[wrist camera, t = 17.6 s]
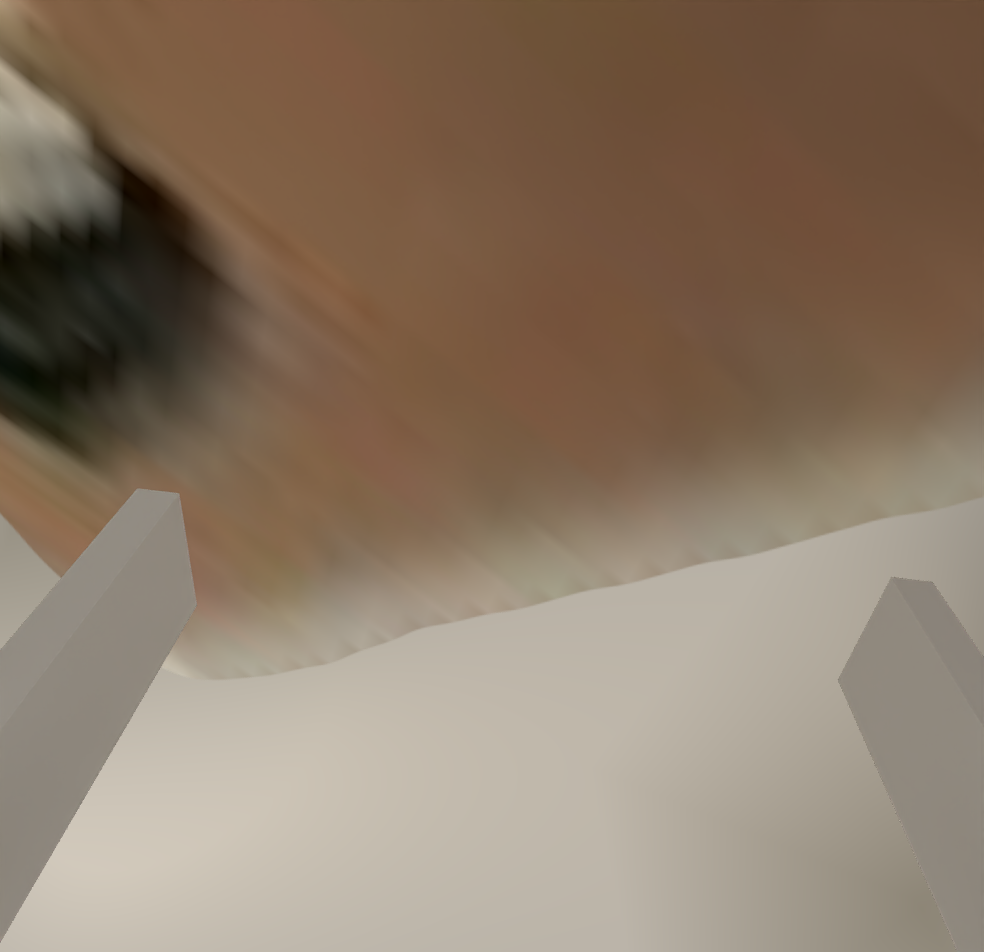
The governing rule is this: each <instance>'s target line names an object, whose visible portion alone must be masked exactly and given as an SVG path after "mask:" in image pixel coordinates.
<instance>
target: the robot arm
mask: <svg viewBox="0 0 984 952" xmlns="http://www.w3.org/2000/svg"><path fill="white" fill-rule="evenodd" d="M196 606H197V603H196V597H195V590H194V584H193V578H192V571H191V565H190V559H189V552H188V546H187V540H186V533H185V527H184V521H183V514H182V508H181V502H180V496H179V493H171V492H163V491H154V490H146V489H137V490H136V491H135V492H134V493H133V494H132V495H131V497H130V498H129V499H128V500H127V501H126V503H125V504H124V505H123V506H122V507H121V508H120V510H119V511H118V512H117V513H116V514H115V515H114V517H113V518H112V519H111V520H110V521H109V523H108V524H107V525H106V526H105V527H104V528H103V530H102V531H101V532H100V533H99V534H98V536H97V537H96V538H95V539H94V540H93V541H92V543H91V544H90V545H89V546H88V547H87V548H86V550H85V551H84V552H83V553H82V554H81V556H80V557H79V558H78V559H77V560H76V561H75V563H74V564H73V565H72V566H71V567H70V568H69V570H68V571H67V572H66V573H65V574H64V576H63V577H62V578H61V579H60V580H59V581H58V583H57V584H56V585H55V586H54V588H52V590H51V591H50V592H49V593H48V594H47V596H46V597H45V598H44V599H43V600H42V601H41V603H40V604H39V605H38V606H37V607H36V609H35V610H34V611H33V612H32V613H31V614H30V616H29V617H28V618H27V619H26V620H25V621H24V623H23V624H22V625H21V626H20V627H19V628H18V630H17V631H16V632H15V633H14V635H13V636H12V637H11V638H10V639H9V640H8V641H7V643H6V644H5V645H4V646H3V647H2V648H1V650H0V942H1V940H2V939H3V937H4V935H5V934H6V932H7V930H8V928H9V927H10V925H11V923H12V921H13V920H14V918H15V916H16V914H17V913H18V911H19V909H20V908H21V906H22V904H23V903H24V901H25V899H26V897H27V896H28V894H29V892H30V891H31V889H32V887H33V885H34V884H35V882H36V880H37V879H38V877H39V875H40V873H41V872H42V870H43V868H44V867H45V865H46V863H47V861H48V860H49V858H50V856H51V855H52V853H53V851H54V849H55V848H56V846H57V844H58V842H59V841H60V839H61V837H62V836H63V834H64V832H65V830H66V829H67V827H68V825H69V824H70V822H71V820H72V818H73V817H74V815H75V813H76V812H77V810H78V808H79V806H80V805H81V803H82V801H83V800H84V798H85V796H86V795H87V793H88V791H89V789H90V788H91V786H92V784H93V783H94V781H95V779H96V777H97V776H98V774H99V772H100V771H101V769H102V767H103V765H104V763H105V762H106V760H107V759H108V757H109V755H110V753H111V752H112V750H113V748H114V747H115V745H116V743H117V741H118V740H119V738H120V736H121V734H122V733H123V731H124V729H125V728H126V726H127V724H128V723H129V721H130V719H131V717H132V716H133V714H134V712H135V710H136V709H137V707H138V705H139V704H140V702H141V700H142V698H143V697H144V695H145V693H146V692H147V690H148V688H149V686H150V685H151V683H152V681H153V680H154V678H155V676H156V674H157V673H158V671H159V669H160V668H161V666H162V664H163V662H164V661H165V659H166V657H167V656H168V654H169V652H170V650H171V649H172V647H173V645H174V644H175V642H176V640H177V638H178V637H179V635H180V633H181V632H182V630H183V628H184V626H185V625H186V623H187V621H188V620H189V618H190V616H191V614H192V613H193V611H194V609H195V608H196ZM838 682H839V684H840V686H841V689H842V691H843V693H844V695H845V698H846V700H847V702H848V704H849V707H850V709H851V711H852V713H853V715H854V718H855V720H856V723H857V725H858V727H859V730H860V732H861V734H862V736H863V739H864V741H865V743H866V745H867V748H868V750H869V752H870V755H871V757H872V759H873V761H874V764H875V766H876V768H877V770H878V773H879V775H880V777H881V779H882V782H883V784H884V786H885V788H886V791H887V793H888V795H889V798H890V800H891V802H892V805H893V807H894V809H895V811H896V814H897V816H898V818H899V820H900V823H901V825H902V827H903V830H904V832H905V834H906V836H907V839H908V841H909V843H910V845H911V848H912V850H913V852H914V855H915V857H916V859H917V861H918V864H919V866H920V868H921V870H922V872H923V875H924V877H925V880H926V882H927V884H928V886H929V889H930V891H931V893H932V895H933V897H934V900H935V902H936V904H937V907H938V909H939V911H940V914H941V916H942V918H943V920H944V923H945V925H946V927H947V930H948V932H949V933H950V936H951V939H952V941H953V943H954V945H955V948H956V950H957V952H984V656H983V655H982V654H981V652H980V651H979V649H978V648H977V646H976V645H975V644H974V642H973V640H972V639H971V637H970V636H969V635H968V633H967V632H966V630H965V629H964V627H963V626H962V624H961V623H960V621H959V620H958V618H957V617H956V615H955V614H954V612H953V611H952V610H951V608H950V607H949V605H948V604H947V602H946V601H945V599H944V598H943V596H942V595H941V593H940V592H939V590H938V589H937V588H936V586H935V585H934V583H933V582H928V581H919V580H912V579H903V578H895V577H891V579H890V581H889V583H888V585H887V586H886V588H885V590H884V592H883V594H882V596H881V598H880V600H879V602H878V604H877V606H876V608H875V609H874V611H873V613H872V615H871V617H870V619H869V621H868V623H867V625H866V627H865V629H864V631H863V633H862V634H861V636H860V638H859V640H858V643H857V644H856V646H855V648H854V650H853V652H852V654H851V656H850V658H849V659H848V661H847V663H846V665H845V667H844V669H843V671H842V673H841V675H840V677H839V679H838Z"/></svg>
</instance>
